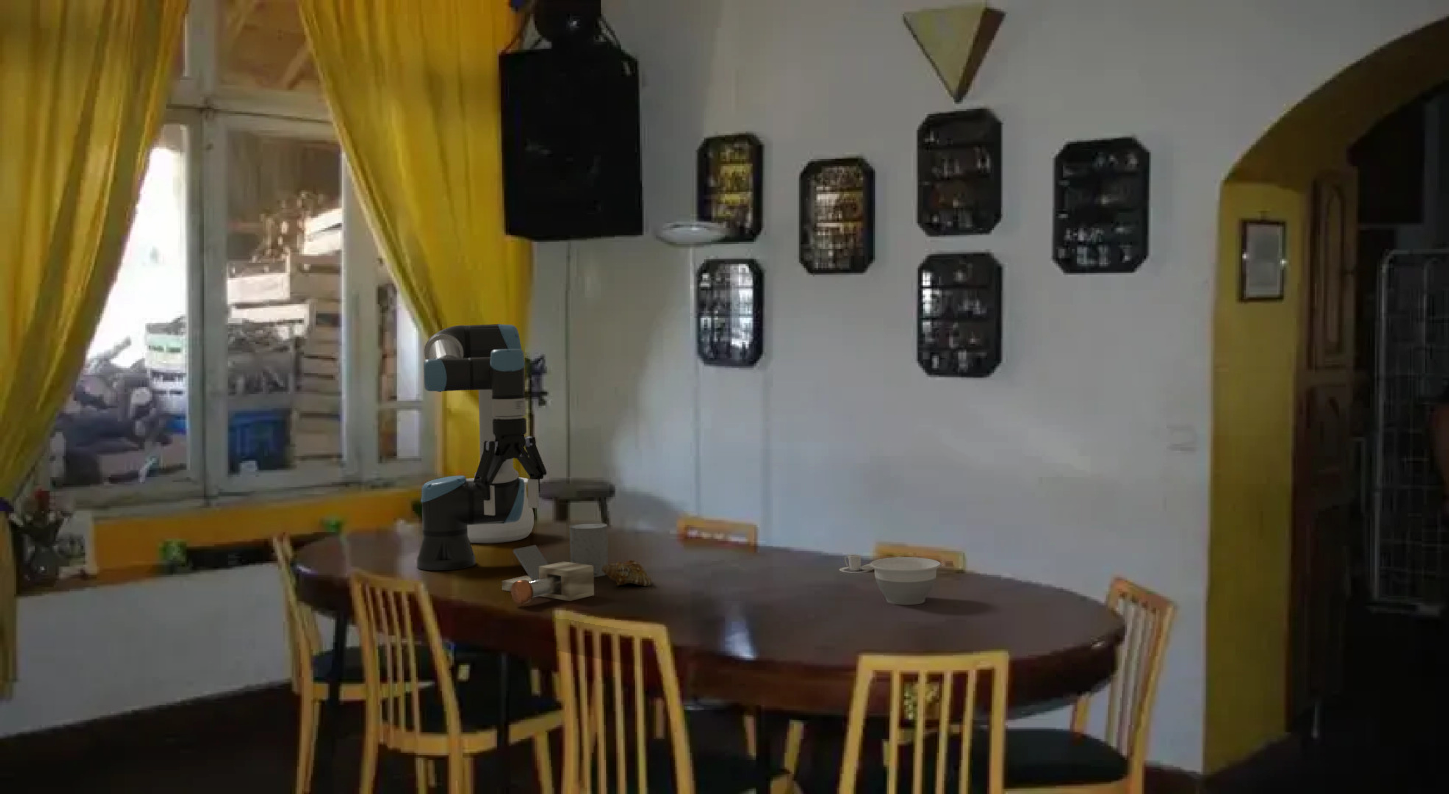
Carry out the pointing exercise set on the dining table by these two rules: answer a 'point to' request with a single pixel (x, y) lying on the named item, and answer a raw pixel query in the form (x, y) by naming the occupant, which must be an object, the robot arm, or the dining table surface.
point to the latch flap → (531, 560)
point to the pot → (504, 527)
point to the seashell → (627, 573)
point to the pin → (534, 588)
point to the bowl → (905, 578)
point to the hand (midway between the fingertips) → (512, 511)
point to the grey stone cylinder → (589, 545)
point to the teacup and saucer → (856, 564)
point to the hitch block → (564, 580)
